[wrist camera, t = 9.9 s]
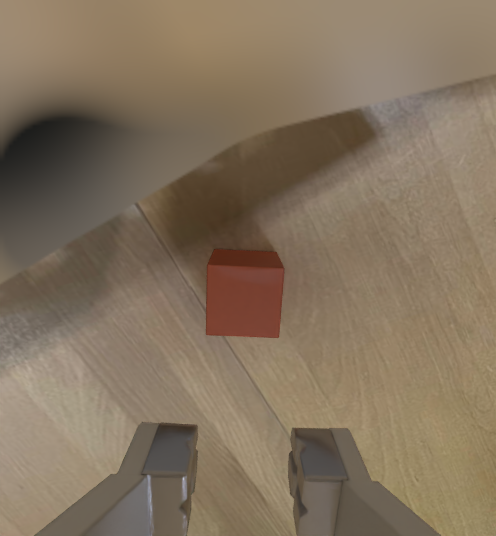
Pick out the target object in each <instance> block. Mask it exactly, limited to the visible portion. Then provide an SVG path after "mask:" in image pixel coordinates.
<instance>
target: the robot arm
mask: <svg viewBox="0 0 496 536" xmlns="http://www.w3.org/2000/svg"><path fill="white" fill-rule="evenodd" d="M197 440H198V426H197V425H194V424H176V423H152V422H142V423H141V424H140V425H139V426H138V428H137V430H136V432H135V435H134V437H133V439H132V441H131V444H130V446H129V448H128V451H127V453H126V455H125V457H124V460H123V462H122V464H121V466H120V469H119V471H118V473H117V474H111V475H109V476H108V477H107V478H106V479H104V480H103V481H102V482H101V483H99V484H98V485H97V486H96V487H94V488H93V489H92V490H91V491H89V492H88V493H87V494H86V495H84V496H83V497H82V498H81V499H79V500H78V501H77V502H76V503H74V504H73V505H72V506H71V507H69V508H68V509H67V510H66V511H64V512H63V513H62V514H61V515H59V516H58V517H57V518H56V519H54V520H53V521H52V522H51V523H49V524H48V525H47V526H46V527H44V528H43V529H42V530H41V531H39V532H38V533H37V534H36V535H34V536H187V532H188V526H189V520H190V514H191V495H192V494H193V492H194V489H195V482H196V473H197V461H198V451H197V449H196V445H197ZM290 441H291V447H292V451H291V452H290V453H289V460H288V479H289V488H290V494H291V496H292V497H293V498H294V506H293V515H294V521H295V528H296V534H297V536H441V535H440V534H439V533H437V532H436V531H435V530H434V529H433V528H432V527H430V526H429V525H428V524H427V523H426V522H425V521H423V520H422V519H421V518H420V517H419V516H418V515H416V514H415V513H414V512H413V511H412V510H411V509H409V508H408V507H407V506H406V505H405V504H404V503H402V502H401V501H400V500H399V499H398V498H397V497H395V496H394V495H393V494H392V493H391V492H390V491H388V490H387V489H386V488H385V487H384V486H383V485H381V484H380V483H379V482H377V481H372V480H371V478H370V476H369V473H368V471H367V469H366V466H365V464H364V462H363V460H362V457H361V455H360V453H359V450H358V448H357V446H356V444H355V441H354V439H353V437H352V434H351V432H350V431H349V430H348V429H347V428H329V429H327V428H292V431H291V438H290Z"/></svg>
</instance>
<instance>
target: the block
mask: <svg viewBox="0 0 496 536" xmlns="http://www.w3.org/2000/svg"><path fill="white" fill-rule="evenodd" d="M283 282H284V266H283V264H282V262H281V260H280V258H279V256H278V254H277V252H267V251H245V250H223V249H214V251H213V254H212V256H211V258H210V260H209V262H208V265H207V302H206V335H217V336H243V337H268V338H279V332H280V319H281V307H282V294H283Z"/></svg>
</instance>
